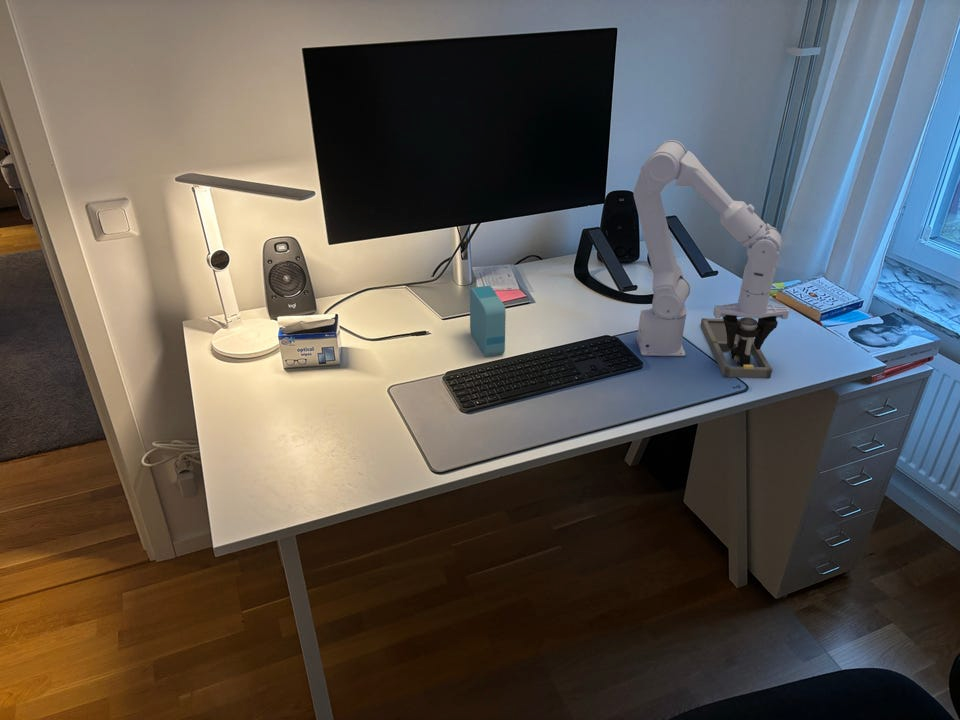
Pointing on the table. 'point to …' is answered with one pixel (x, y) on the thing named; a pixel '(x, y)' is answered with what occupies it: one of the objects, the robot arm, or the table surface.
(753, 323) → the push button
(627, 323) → the table surface
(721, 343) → the shallow brown tray
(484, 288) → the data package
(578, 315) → the table surface
